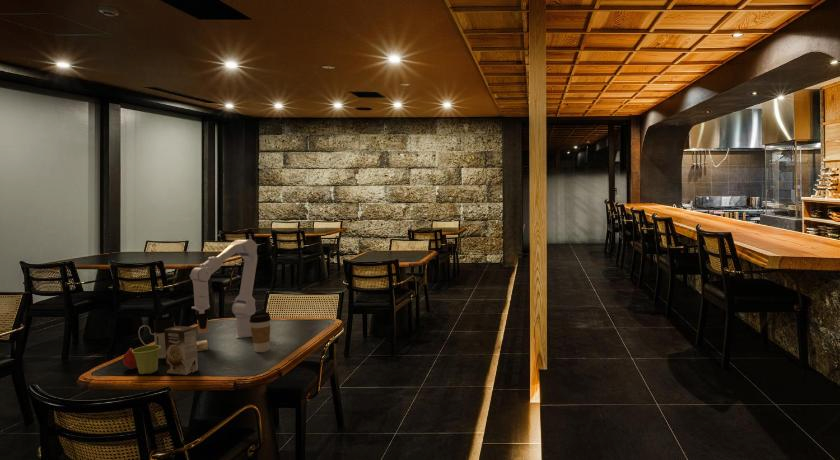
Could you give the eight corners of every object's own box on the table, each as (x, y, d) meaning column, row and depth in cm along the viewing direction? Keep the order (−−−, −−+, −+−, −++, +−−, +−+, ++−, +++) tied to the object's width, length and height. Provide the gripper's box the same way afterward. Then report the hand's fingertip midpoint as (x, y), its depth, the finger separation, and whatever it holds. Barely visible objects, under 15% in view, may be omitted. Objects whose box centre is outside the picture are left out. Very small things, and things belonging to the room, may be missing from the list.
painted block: (208, 330, 229) (207, 318, 229) (208, 332, 226) (207, 320, 225) (198, 331, 228) (197, 319, 228) (198, 333, 224) (197, 321, 224)
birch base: (207, 347, 229) (206, 340, 229) (208, 350, 224) (207, 343, 224) (191, 349, 227) (191, 342, 226) (192, 352, 221) (192, 345, 221)
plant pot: (143, 377, 190) (141, 353, 190) (128, 373, 195) (126, 350, 195) (167, 369, 198) (165, 346, 198) (152, 366, 203) (151, 343, 203)
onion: (128, 366, 204) (126, 346, 203) (143, 365, 204) (142, 345, 204) (120, 371, 198) (119, 350, 198) (137, 370, 198) (135, 349, 198)
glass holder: (181, 354, 218) (179, 318, 217) (144, 363, 208) (141, 325, 207) (173, 350, 224) (170, 315, 223) (136, 358, 214) (134, 321, 213)
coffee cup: (276, 347, 222) (274, 312, 221) (264, 353, 214) (262, 316, 213) (259, 346, 225) (257, 311, 224) (246, 352, 217) (244, 315, 216)
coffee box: (166, 373, 194) (163, 329, 193) (179, 367, 200) (176, 325, 199) (185, 375, 191) (182, 330, 190) (199, 369, 197) (196, 326, 196)
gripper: (191, 294, 231) (193, 325, 232) (190, 299, 218) (192, 332, 218) (209, 292, 234) (211, 323, 235) (208, 297, 220) (210, 330, 221)
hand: (203, 327), depth 227 cm, fingers closed on painted block, 4 cm apart
